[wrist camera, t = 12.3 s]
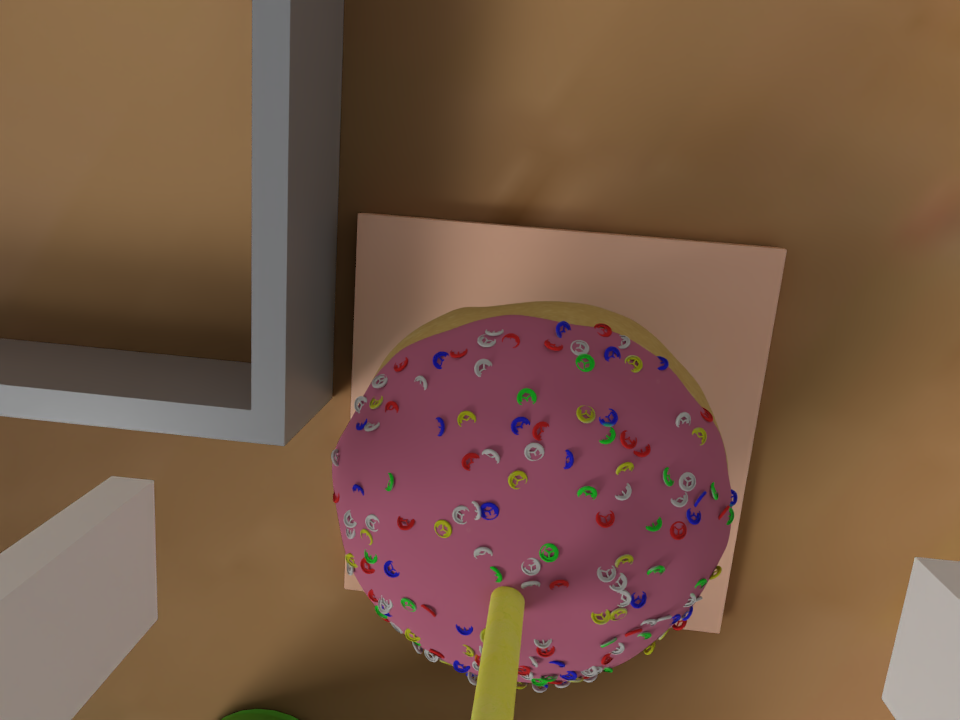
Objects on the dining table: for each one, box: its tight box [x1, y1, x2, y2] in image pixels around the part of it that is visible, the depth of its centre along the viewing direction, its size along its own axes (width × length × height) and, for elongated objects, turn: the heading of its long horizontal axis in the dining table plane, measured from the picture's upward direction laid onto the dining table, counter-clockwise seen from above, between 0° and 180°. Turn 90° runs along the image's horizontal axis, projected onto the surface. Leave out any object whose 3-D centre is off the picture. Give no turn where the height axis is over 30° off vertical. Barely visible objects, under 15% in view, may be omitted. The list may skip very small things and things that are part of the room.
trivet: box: [344, 213, 787, 634], centre depth 21 cm, size 11×11×1 cm
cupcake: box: [331, 301, 738, 720], centre depth 15 cm, size 9×8×12 cm
